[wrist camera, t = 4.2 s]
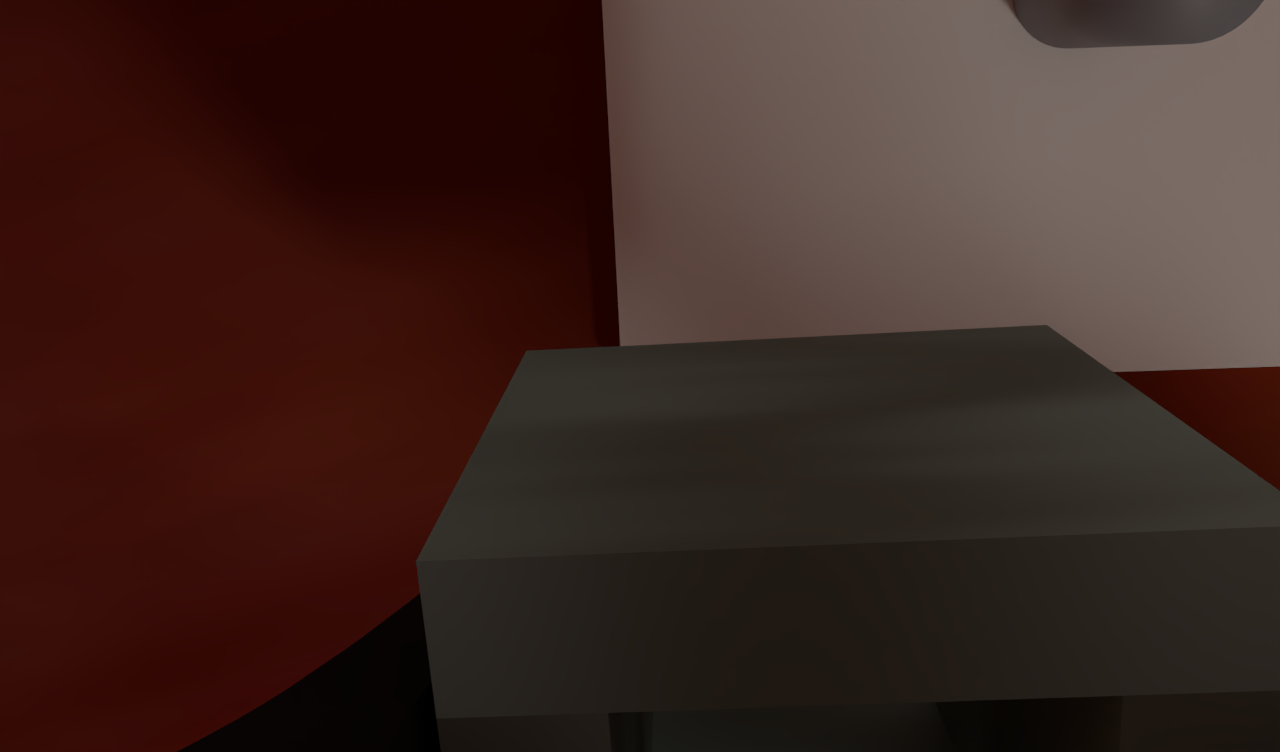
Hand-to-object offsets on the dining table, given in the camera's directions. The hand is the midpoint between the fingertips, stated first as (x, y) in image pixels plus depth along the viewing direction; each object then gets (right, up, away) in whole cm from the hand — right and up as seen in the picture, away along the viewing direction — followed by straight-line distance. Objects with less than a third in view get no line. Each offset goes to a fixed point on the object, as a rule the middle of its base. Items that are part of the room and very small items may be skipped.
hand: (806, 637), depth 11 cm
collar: (0, 0, +1) cm, 1 cm away
